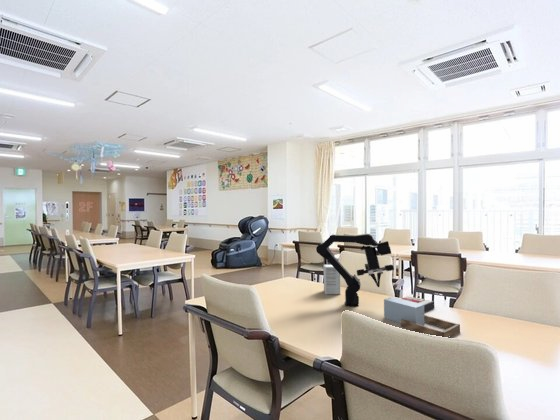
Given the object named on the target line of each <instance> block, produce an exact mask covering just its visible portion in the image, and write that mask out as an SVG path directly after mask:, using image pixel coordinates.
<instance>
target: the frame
mask: <svg viewBox="0 0 560 420" xmlns="http://www.w3.org/2000/svg"><path fill="white" fill-rule="evenodd" d="M424 323H427V324H430V325H433V326H436V327H437V326H438V327H440V328H443V329H444V330H443V331H442V330H438V329H436V328H432V327H429V326H425V325H420V324H417V323H413V322H410V321H407V320H404V319H401V323H400V326H401V327H402V328H405V329H408V330H410V331H411V330H412V331H414V332H417V333H420V332H421V333H420V334H423V333H426V334H430V335H436V336H442V337H449V336H451V337H454V336H455V335H457V334H458V333H461V324H460V323H456V322H452V321H448V320H445V319H442V318H437V317H434V316H430V315H427V314H424ZM426 334H425V335H426ZM449 338H450V337H449Z"/></svg>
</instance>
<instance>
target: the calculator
mask: <svg viewBox="0 0 560 420" xmlns="http://www.w3.org/2000/svg"><path fill="white" fill-rule="evenodd" d="M400 299H404V300H408V301H412V302H416V303H420V304H424V314H425V313H427V312H429V311H431V310H433V309H435V301H433V300H429V299H425V298H419V297H415V296H408V295H407V296H405V297H402V298H400Z"/></svg>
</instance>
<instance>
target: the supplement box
mask: <svg viewBox="0 0 560 420" xmlns="http://www.w3.org/2000/svg"><path fill="white" fill-rule="evenodd" d="M323 292H324V294H325V295H341V275H340V274H339V273H338V271H337V270H336V269H335V268H334V267H333V266H332V265H331V264H323Z"/></svg>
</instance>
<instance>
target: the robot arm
mask: <svg viewBox="0 0 560 420" xmlns="http://www.w3.org/2000/svg"><path fill="white" fill-rule="evenodd" d="M333 243H353V244H354V243H355V244H359V245H362V247H360V250H361V251H364V254H365V257H366V262H367V263H364V268H362V269H357V270H356V274H353V275H352V274H350V272H349V271H348V270H347V269H346V268H345V267H344V265H342V263H341V262H340V261H339V260H338V259H337V258H336V256H334V255H333V252H332V251H331V249H330V247H331V246H332V245H333ZM389 244H390V243H389V241H388V240H386V241H382V242H377V241H376V240H375V239H374V237H373V235H372V234H370V233H363V234H356V235H348V234H346V235H345V234H344V235H341V234H331V235H329V237H328V238H327V239H326V240H325V241H323V242H321V243H319V244H318V245H316V252H317V254H319V256H321V257H322V258H323V259H325V260H327V262H328V263H329V265H332V266H333V267H334V268H335V269H336V270H337V271H338V273H339V274H340V277H342V278H343V280H344V282H345V283H346V286H347V287H346V288H345V291H344V295H345V297H344V299H345V301H344V304H345V306H346V307H359V304H360V299H359V298H360V297H359V295H358V292H359V291H360V290H361V286H362V283H361V281H360V280H361V279H359V278H358V277H359V276H363V275H365V274H368V277H371V278H372V279H373V281H374V283H375V285H376V286H377V288H380V284H381V276H382V275H383V274H384V271H386V272H392V271H394V270H395V268H394V267H395V266H394V265H393V264H386V265H384V266H383V267H381V266H380V263H379V257H378V255H380V256H387V255H392V251H391V250H392V249H391V246H390V245H389ZM375 274H376V275H375Z"/></svg>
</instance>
